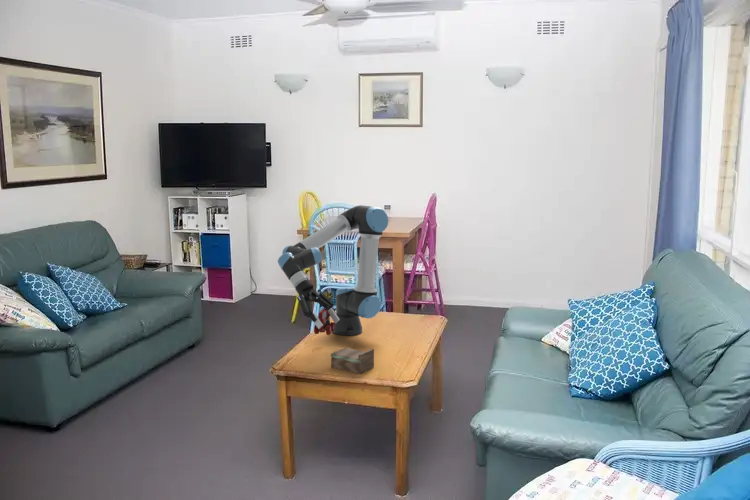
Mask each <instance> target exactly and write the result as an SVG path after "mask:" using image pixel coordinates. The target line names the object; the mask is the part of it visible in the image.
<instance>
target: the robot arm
mask: <svg viewBox="0 0 750 500" xmlns="http://www.w3.org/2000/svg"><path fill="white" fill-rule="evenodd" d="M388 226H389V216H388V214H387V213H386V211H385V210H384V209H383V208H381V207H377V206H370V205H362V204H360V205H356V206H353V207H351V208H348V209H347V210H345V211H344V212H342V213H340V214H339V215H338V216H337V218H336V219H335V220H333V221H331V222H330V223H328V224H326V225H324V227H322V228H320V229H318V230H316V231H314V233H312V234H310V235H308V236H307V237H306V238H304V239H303V240H301V241H299V242H297V243H295V244H294V245H287V246H284V248H283V250H282V254H281V255H280V256H279V257H278V259H277V264H278V266H279V268H280V269H281V271H282V272H283V273H284V275H285V276H286V277H287V279H288V280H289V283H291V285H292V286H293V288H294V289H295V291H296V293H297V295H298V296H297V297H296V299H297V301H298V303H299V305H300V307H301V310H302V313H303V316H305V317H306V318H310V320H311V321H312V323H314V326H315V325H316V326H317V328H318V329H320V328H321V327H322V326H323V324H322V323H321V321H320V320H319V316H318V315H317V313H315V312H314V309H313V303H312V302H314V303H318V305H320V306H321V307H323V309H324V308H327V309H328V312H329V317H330V318H331V320H332V322H334V323H335V330H334V332H333V333H334V334H336V335H338V336H339V335H341V336H354V335H355V336H356V335H359V334H361V333H363V325H362V321H361V318H363V319H364V318H365V319H373V318H374V317H376V315H377V314H378V313H379V312H380V310H381V307H382V303H381V299H380V298H379V297H378V289H377V288H376V287H375V285H376V277H377V276H376V275H377V273H376V271H377V262H378V253H379V252H378V251H379V239H381V237H382V236H383V232H384V231H385V230H386V229H387V227H388ZM354 230H358V235H359V236H360V248H359V258H358V271H357V272H358V274H357V280H356V281H357V285H355V286H353V285H352V286H341V287H338V288H337V289H336V294H335V298H336V299H335V300H336V301H335V304H334V302H333V301H331V300H330V299H329V298H328V297H327V296H326V295H325V294H324V293H323V292H322V290H321V289H317V290H315V288H314V284H313V283H312V281H311V279H309V277H308V275H307V274H306V271H304V270H307V269H308V268H311V267H313V266H316V265H317V264H319V263H321V262H322V260H323V254H322V252H321V249H320V248H322V247H323V246H325V245H326V244H328V243H330V242H332V241H333V240H334V239H336V238H338V237H339V236H342V234H344V233H350V232H351V231H354ZM334 306H335V307H336V309H335V310H336V311H335V310H334V308H333V307H334Z"/></svg>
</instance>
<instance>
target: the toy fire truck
mask: <svg viewBox="0 0 750 500" xmlns="http://www.w3.org/2000/svg"><path fill="white" fill-rule="evenodd" d="M318 318H319V320H320V321H321V323H322V324H323V326H322V327H321V328H320V329H318V328H317V326H316V325H315V324H314V327H313V333H314V334H315V335H319V333H326V335H327V336H331V334H332V333H334V330H335V323H334V321H332V322H331V319H330V318H331V317H330V315H329V312H328V309H327V308H324V307H323V309H321V311H320V312H318Z"/></svg>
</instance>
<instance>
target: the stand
mask: <svg viewBox="0 0 750 500" xmlns="http://www.w3.org/2000/svg"><path fill="white" fill-rule="evenodd" d="M330 359H331V360H330V361H331V363H330V366H331V368H335V369H338V370H342V371H346V372H350V373H354V374H359V375H362V374H363V373H365V372H368V371H369V370H372V369H373V368H375V349H374V348H371V349H368V350H366V351H363V350H358V349H355V348H349V347H343V348H341V349H339V350H336V351H333V352H331V353H330Z"/></svg>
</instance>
